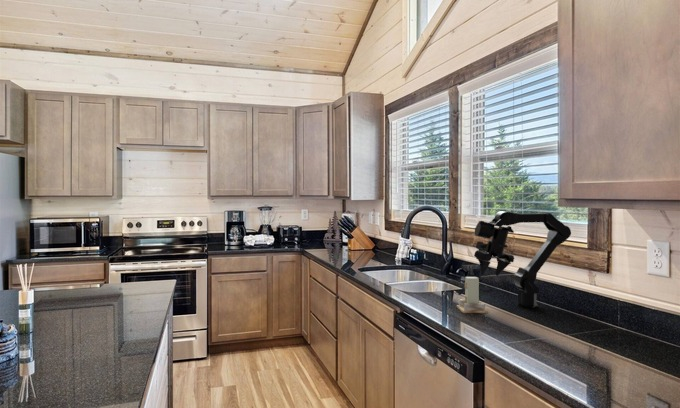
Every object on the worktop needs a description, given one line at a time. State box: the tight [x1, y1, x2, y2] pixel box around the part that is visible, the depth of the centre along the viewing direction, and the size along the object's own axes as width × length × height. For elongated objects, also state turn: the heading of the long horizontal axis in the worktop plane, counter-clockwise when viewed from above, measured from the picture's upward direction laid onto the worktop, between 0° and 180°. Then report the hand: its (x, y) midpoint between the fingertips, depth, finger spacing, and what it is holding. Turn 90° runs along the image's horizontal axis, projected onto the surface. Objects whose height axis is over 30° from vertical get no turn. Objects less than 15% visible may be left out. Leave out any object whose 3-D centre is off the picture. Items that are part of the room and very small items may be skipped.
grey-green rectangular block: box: [464, 276, 480, 303], centre depth 177 cm, size 5×4×12 cm
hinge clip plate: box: [456, 298, 489, 314], centre depth 177 cm, size 10×9×3 cm
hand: (489, 275), depth 186 cm, fingers open, 9 cm apart
